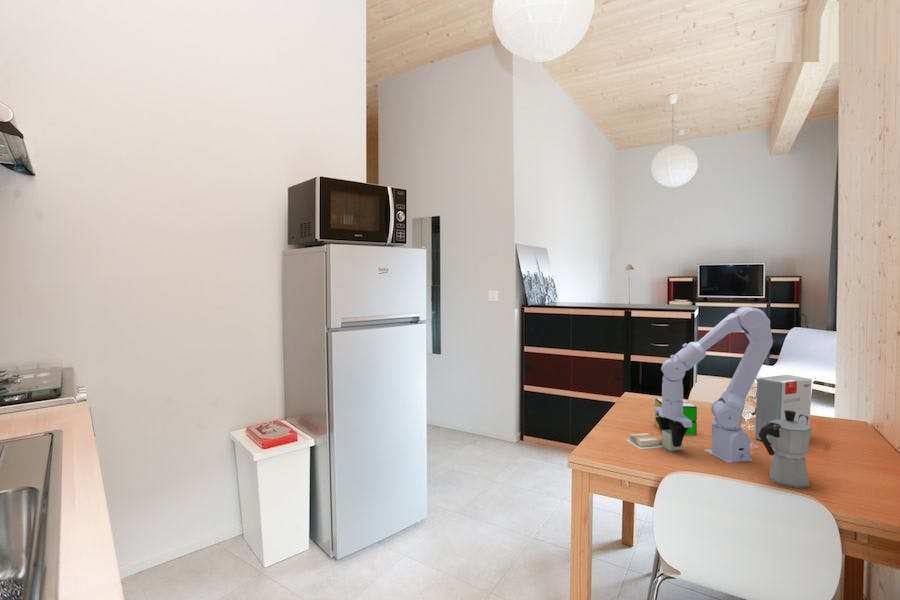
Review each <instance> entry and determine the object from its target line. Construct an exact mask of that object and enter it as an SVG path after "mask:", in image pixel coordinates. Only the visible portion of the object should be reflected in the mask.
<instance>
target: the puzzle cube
mask: <svg viewBox="0 0 900 600" xmlns="http://www.w3.org/2000/svg"><path fill="white" fill-rule="evenodd" d="M654 407H661V408H662V398H655V400H654ZM683 415H685V416H686V417H687V418H688V419H689V420H691V421H692V427H689V429H688V430H687V431H686V433H685V435H684V436H697V430H698V429H697V428H698V427H697V425H698V423H697V420H698V419H697V418H698V407H697V406H696V405H694V404H693V403H691V402H690V401H688V400H686V399H685V398H683ZM656 417H659V414H655V413H654V425H655V427H656V428H658V429H659V430H660V427H659V425H658V423H657V421H656ZM674 423H675V421H674Z"/></svg>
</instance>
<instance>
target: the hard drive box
mask: <svg viewBox="0 0 900 600" xmlns="http://www.w3.org/2000/svg"><path fill="white" fill-rule="evenodd" d="M756 380H757V381H756V403H755V406H756V407H755V422H754V423H755V424H754V425H755V426H754V439H757V440H759V441H762V440H761V438H760V437H759V433H760V430H761V428H762V427H764V426H766V424H767V423H769V422H770V421H773V420H782V419H786V417H785V412H784V411H785V410H790V411H794V412H796V414H795V418H794V421H797V422H800V423H803V424H806V425H810V426H811V406H812V405H811V402H812V381H813V379H812V378H806V377H802V376H796V375H791V374H781V375H774V376H765V377H758V378H757V379H756ZM766 438H767V439H768V441H769V443H770V445H772V443H771V435H768V434H767V436H766Z"/></svg>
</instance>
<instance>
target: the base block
mask: <svg viewBox="0 0 900 600" xmlns="http://www.w3.org/2000/svg"><path fill="white" fill-rule="evenodd" d="M629 439H630V441H631V442H633V443H635V444H636V445H638V446H639V447H653V446H659V445H660V442H659V441H660V439H658V438H656V437H655V436H653V435H651V434H650V433H648V432H647V433H646V432H645V433H630V434H629Z"/></svg>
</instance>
